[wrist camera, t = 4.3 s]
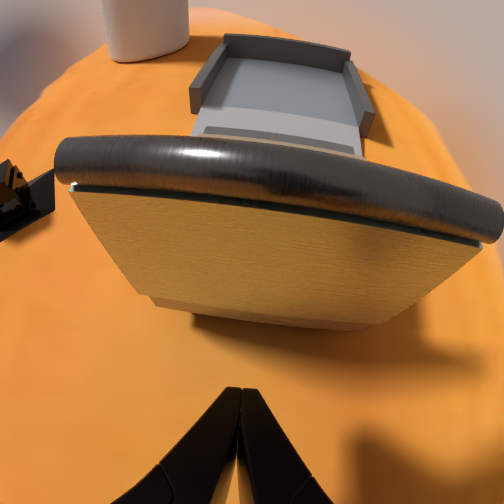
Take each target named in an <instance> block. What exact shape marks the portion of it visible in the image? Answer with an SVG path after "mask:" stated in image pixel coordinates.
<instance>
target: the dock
mask: <svg viewBox="0 0 504 504" xmlns="http://www.w3.org/2000/svg"><path fill="white" fill-rule="evenodd" d="M350 56H351V52H350V51H348V50H344V49H340V48H336V47H331V46H327V45H321V44H317V43H311V42H306V41H300V40H293V39H286V38H278V37H270V36H259V35H246V34H224V43H220V44H219V45H218V46H217V48H216V49H215V50H214V52H213V53H212V55H211V56H210V57H209V59H208V60H207V61H206V63H205V64H204V66H203V67H202V69H201V70H200V72H199V73H198V74H197V76H196V77H195V79H194V80H193V82H192V83H191V85H190V86H189V96H190V107H191V113H195V114H198V116H197V119H196V122H195V124H194V127H193V130H192V133H191V136H197V137H198V134H199V133H201V134H203V132H204V130H205V128H206V126H213V127H226V128H237V129H247V130H256V131H265V132H272V133H280V134H287V135H293V136H300V137H306V138H311V139H317V140H323V141H328V142H333V143H338V144H343V145H347V146H352V147H353V148H354V153H355V155H357V156H362V150H361V142H360V136H361V137H367V134H368V132H369V129H370V127H371V124H372V121H373V119H374V116H375V111H374V109H373V106H372V104H371V101H370V99H369V96H368V94H367V92H366V89H365V87H364V85H363V82H362V80H361V78H360V76H359V74H358V71H357V69H356V67H355V65H354V63H353V61H351V60H350Z"/></svg>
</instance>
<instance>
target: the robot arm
mask: <svg viewBox="0 0 504 504" xmlns="http://www.w3.org/2000/svg"><path fill="white" fill-rule="evenodd" d="M241 396H242V398H241ZM240 408H241V410H240ZM239 421H240V422H239ZM238 433H239V435H238ZM237 445H238V447H237ZM236 456H237V473H238V487H239V499H240V504H334V503H333V502H332V501H331V500H330V498H329V497H328V496H327V494H326V493H325V492H324V491H323V489H322V488H321V487H320V485H319V484H318V482H317V481H316V479H315V478H314V477H312V474H311V472H310V471H309V469H308V468H307V466H306V465H305V464H304V462H303V461H302V459H301V458H300V456H299V454H298V453H297V451H296V450H295V448H294V447H293V445H292V444H291V442H290V441H289V439H288V438H287V436H286V434H285V433H284V431H283V430H282V428H281V426H280V425H279V423H278V422H277V420H276V418H275V417H274V415H273V414H272V412H271V410H270V409H269V407H268V405H267V404H266V402H265V400H264V399H263V397H262V395H261V394H260V392H259V391H258V390H257V389H252V388H243V389H241V388H239V387H226V388H225V389H224V390H223V392H222V393H221V394H220V395H219V396H218V397H217V399H216V400H215V401H214V402H213V403H212V404H211V406H210V407H209V408H208V409H207V410H206V411H205V413H204V414H203V415H202V416H201V417H200V418H199V419H198V421H197V422H196V423H195V424H194V425H193V426H192V427H191V428H190V429H189V431H188V432H187V433H186V434H185V435H184V436H183V437H182V438H181V439H180V440H179V442H178V443H177V444H176V445H175V446H174V447H173V448H172V449H171V450H170V451H169V452H168V453H167V454H166V455H165V456H164V458H163V459H162V460H161V461H160V462H159V464H157V465H156V466H155V467H154V468H153V469H152V470H151V471H150V472H149V473H148V474H147V475H146V476H145V477H144V478H142V479H141V480H140V481H139V482H138V483H137V484H136V485H135V486H134V487H132V488H131V489H130V490H128V491H127V492H126V493H124V494H123V495H122V496H120V497H119V498H118V499H116V500H115V501H113V502H112V503H110V504H225V503H226V499H227V495H228V492H229V487H230V483H231V479H232V475H233V471H234V467H235V462H236Z"/></svg>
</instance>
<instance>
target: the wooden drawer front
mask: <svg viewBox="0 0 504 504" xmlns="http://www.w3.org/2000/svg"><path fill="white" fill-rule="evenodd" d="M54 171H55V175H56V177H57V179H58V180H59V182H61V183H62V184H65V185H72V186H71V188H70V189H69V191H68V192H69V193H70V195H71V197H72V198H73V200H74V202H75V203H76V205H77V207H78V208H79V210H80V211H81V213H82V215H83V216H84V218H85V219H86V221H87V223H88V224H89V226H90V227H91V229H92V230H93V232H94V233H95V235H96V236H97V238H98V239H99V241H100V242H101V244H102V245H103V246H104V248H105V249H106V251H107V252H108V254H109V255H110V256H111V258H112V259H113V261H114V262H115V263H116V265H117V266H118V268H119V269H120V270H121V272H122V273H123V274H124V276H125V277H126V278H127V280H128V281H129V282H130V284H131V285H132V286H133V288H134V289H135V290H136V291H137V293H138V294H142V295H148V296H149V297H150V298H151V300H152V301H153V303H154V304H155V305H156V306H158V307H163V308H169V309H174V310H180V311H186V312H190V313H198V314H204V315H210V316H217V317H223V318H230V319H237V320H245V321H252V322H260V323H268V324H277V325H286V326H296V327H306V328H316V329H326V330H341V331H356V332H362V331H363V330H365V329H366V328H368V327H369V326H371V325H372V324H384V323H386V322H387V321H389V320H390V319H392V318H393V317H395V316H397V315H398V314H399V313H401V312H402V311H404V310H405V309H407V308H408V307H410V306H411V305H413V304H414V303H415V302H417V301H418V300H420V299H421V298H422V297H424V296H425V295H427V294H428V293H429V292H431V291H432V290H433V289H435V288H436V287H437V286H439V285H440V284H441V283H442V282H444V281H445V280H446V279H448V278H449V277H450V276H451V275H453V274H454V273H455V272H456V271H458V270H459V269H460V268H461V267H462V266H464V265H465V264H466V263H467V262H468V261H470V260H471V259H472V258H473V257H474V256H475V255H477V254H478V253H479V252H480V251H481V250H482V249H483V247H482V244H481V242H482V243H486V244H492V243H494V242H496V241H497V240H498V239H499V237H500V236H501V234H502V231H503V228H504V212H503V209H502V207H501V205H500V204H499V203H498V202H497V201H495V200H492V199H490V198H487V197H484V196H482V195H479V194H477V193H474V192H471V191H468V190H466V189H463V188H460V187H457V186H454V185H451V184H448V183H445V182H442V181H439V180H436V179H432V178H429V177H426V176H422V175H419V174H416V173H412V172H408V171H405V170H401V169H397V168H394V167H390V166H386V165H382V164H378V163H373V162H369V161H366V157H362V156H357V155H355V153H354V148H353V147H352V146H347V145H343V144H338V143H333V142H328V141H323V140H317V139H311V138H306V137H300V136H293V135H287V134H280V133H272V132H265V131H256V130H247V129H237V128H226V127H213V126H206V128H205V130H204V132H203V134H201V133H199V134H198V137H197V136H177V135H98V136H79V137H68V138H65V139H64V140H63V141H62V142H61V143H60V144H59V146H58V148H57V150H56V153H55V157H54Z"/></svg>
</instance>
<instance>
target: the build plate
mask: <svg viewBox="0 0 504 504" xmlns="http://www.w3.org/2000/svg"><path fill="white" fill-rule="evenodd" d="M54 173H55V171H54V169H51V170H49V171H48V172H46V173H44V174H42V175H40V176H38V177H36V178H34V179H33V180H31V181H29V182H26V180H25V179H24V177H23V174H22V172H20V171H19V169H18V167H17V166H16V165H15V166H14V167H13V165H12V164H11V162H10V160H9V159H7V160H6V161H4V162H3V163H1V164H0V242H1V241H3V240H5V239H6V238H8V237H9V236H11V235H13V234H14V233H16V232H18V231H19V230H21V229H23V228H24V227H26V226H28V225H30V224H31V223H33V222H35V221H37V220H38V219H40V218H42V217H44V216H46V215H47V214H49V213H51V212H53V211H54V210H55V188H54Z"/></svg>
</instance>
